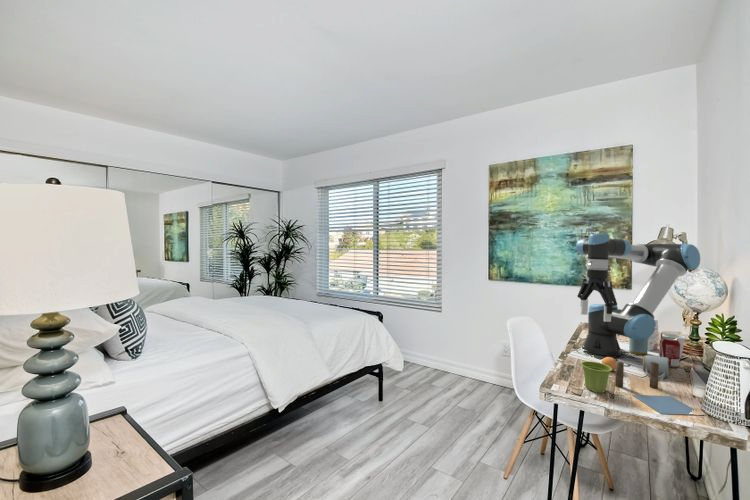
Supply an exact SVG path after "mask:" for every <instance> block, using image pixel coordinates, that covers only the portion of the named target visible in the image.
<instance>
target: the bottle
mask: <svg viewBox="0 0 750 500" xmlns="http://www.w3.org/2000/svg"><path fill="white" fill-rule="evenodd" d="M628 344H629V350H628V351H629V352H630V353H631V354H633V355H638V356H647V355H648V352H649V351H648V338H647V339H644V340H637V339H631V338H629V343H628Z"/></svg>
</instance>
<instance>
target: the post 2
mask: <svg viewBox="0 0 750 500" xmlns="http://www.w3.org/2000/svg"><path fill="white" fill-rule="evenodd" d="M658 373H659V364H658V363H655V362H650V377H649V387H650V389H651V388H652V389H655V390H656V389H657V390H658V389H659V380H658Z"/></svg>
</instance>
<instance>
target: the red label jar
mask: <svg viewBox="0 0 750 500" xmlns="http://www.w3.org/2000/svg"><path fill="white" fill-rule="evenodd" d="M661 335H662V337H673V338H677V339H678V342H679V343H680V358H681V359H682V356H683V350H684V345H685V342H686V339H687V338H686V337H685V336H683V335H680V334H675V333H663V334H661Z"/></svg>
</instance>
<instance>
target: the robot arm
mask: <svg viewBox="0 0 750 500" xmlns="http://www.w3.org/2000/svg"><path fill="white" fill-rule="evenodd" d="M610 237H611V236H610V234H608V233H591V234H589V236H588V238H580V239H578V241H577V242H576V244H575V250H576V252H577V253H578V254H579V255H585V256H586V255H587V268H588V269H587V271H586V277H587V278H583V279H582V284H581V286H580V289H579V291H578V294H577V295H576V296H577V298H579V299H580V315H581V316H582V315H586V316H587V315H588V317H587V322H588V323H587V328H588V329H587V336H586V337H585V340H584V342H583V349H584V350H585V351H586V350H587V352H590V353H592V354H594V355H595V354H596V355H600V356H606V357H613V356H614V357H617V356H620V355H621V347H620V343H619V341H618V339H617V335H618V336H619V335H620V336H623V337H626V338H629V339H630V338H631V339H637V340H644V339H647V338H649V337H650V336H651V335H652V334H653V333H654V331H655V328H654V327H655V326H656V323H655V315H654V313H655V311H656V309H657V308H658V307H659V305H660V303H662V301H663V300H664V298H665V297H666V295H667V294H668V292H669V290H670V289H671V288H672V286H673V285H674V283H675V282H676V281H677V279H678V278H679V277H682V276H684V275H686V274H687V271H688V270H691V271H692V270H696V269H698V268H699V266H700V263H701V254H700V250H699V249H698V247H696V246H695V245H693V244H688V243H681V244H680V243H647V244H646V243H645V244H643V243H642V244H641V243H635V244H631V242H630V241H629V240H627V239H623V238H610ZM609 258H612V259H613V258H615V259H620V260H629V261H632V262H633V263H636V264H643V265H647V266H651V267H656V268H655V270H654V271H653V273H651V275H650V276H649V278H648V280H647V281H646V282H645V283H644V285H643V287H642V288H641V289H640V291H639V292H638V294H637V295H636V297H634V299H633V301H632V302H628V303H625V305H624V307H622V309H620V308H618V302H617V299H616V295H615V292H614V290H613V283H612V282H611V281H606V280H607V279H608V277H609V274H608V273H609V271H608V269H609ZM594 291H596V292H598V293H599V294H600V296H601V298H602V300H603V302H604V303H596V304H593V303H592V304H590V305H589V297H591V294H592V293H593V292H594Z"/></svg>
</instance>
